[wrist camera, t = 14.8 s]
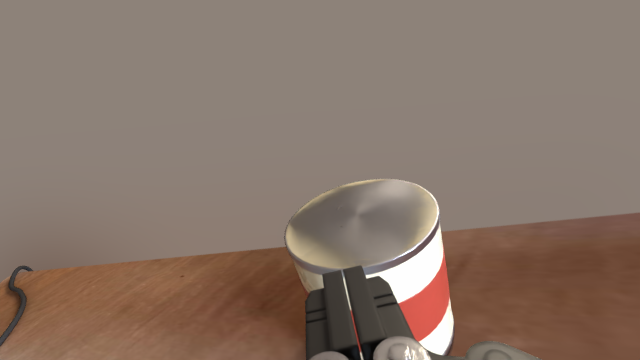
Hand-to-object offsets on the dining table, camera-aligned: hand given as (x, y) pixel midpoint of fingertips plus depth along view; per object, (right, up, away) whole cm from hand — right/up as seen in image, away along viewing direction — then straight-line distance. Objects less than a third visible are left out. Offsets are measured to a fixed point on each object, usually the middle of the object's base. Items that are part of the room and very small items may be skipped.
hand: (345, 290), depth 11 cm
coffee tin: (+6, -10, +20) cm, 23 cm away
